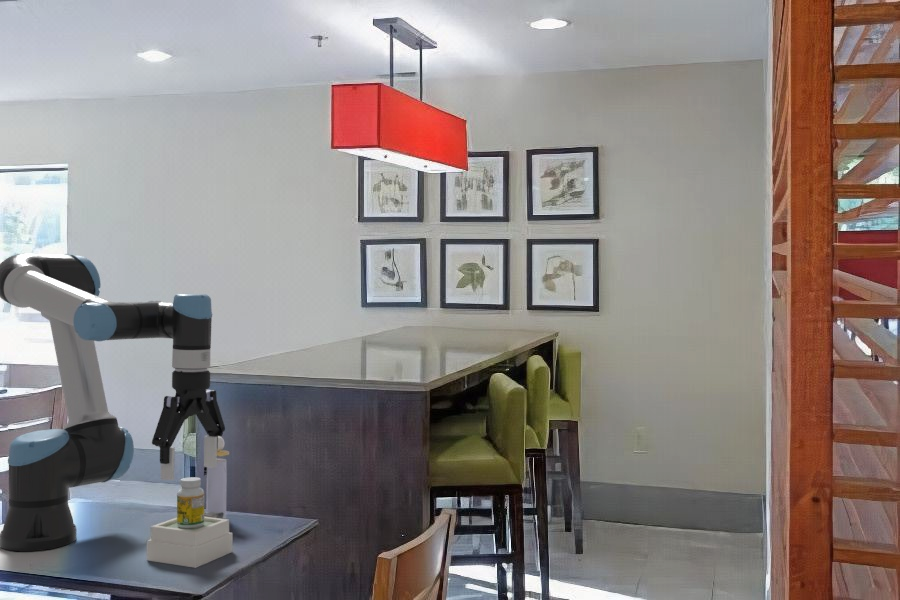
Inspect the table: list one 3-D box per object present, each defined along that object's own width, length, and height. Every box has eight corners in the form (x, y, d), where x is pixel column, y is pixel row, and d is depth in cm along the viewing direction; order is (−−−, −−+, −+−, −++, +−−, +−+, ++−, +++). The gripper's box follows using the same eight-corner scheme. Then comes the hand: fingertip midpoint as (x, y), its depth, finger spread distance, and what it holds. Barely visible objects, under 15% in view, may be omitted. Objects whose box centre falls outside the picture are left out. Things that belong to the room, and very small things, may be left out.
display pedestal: (146, 560, 187) (147, 526, 187) (185, 545, 198) (185, 513, 198) (195, 567, 182) (195, 533, 182) (232, 551, 193) (232, 519, 193)
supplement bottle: (209, 525, 190) (209, 479, 190) (185, 530, 186) (185, 482, 186) (195, 521, 194) (195, 475, 194) (172, 525, 190) (172, 478, 190)
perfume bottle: (234, 519, 220) (234, 435, 220) (216, 524, 215) (217, 438, 215) (215, 516, 223) (216, 433, 223) (198, 521, 218) (198, 436, 218)
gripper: (165, 376, 177) (163, 487, 177) (242, 365, 200) (240, 464, 200) (134, 373, 180) (132, 483, 180) (214, 363, 203) (212, 460, 203)
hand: (189, 473), depth 190 cm, fingers open, 13 cm apart
